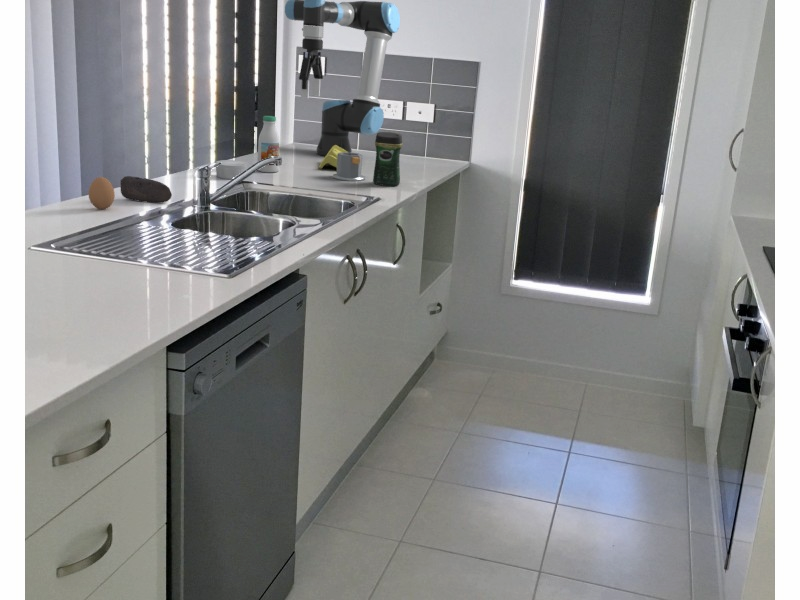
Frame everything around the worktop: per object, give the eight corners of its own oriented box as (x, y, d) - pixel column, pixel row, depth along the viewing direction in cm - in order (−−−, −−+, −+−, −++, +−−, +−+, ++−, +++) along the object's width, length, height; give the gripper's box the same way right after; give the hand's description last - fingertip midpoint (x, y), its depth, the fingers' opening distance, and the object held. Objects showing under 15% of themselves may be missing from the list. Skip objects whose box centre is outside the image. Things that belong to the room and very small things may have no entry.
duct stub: (337, 174, 320) (339, 152, 317) (368, 177, 318) (370, 156, 315) (328, 178, 309) (329, 156, 306) (360, 182, 306) (361, 160, 304)
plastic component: (349, 166, 326) (326, 153, 325) (340, 182, 329) (317, 169, 327) (353, 155, 345) (332, 142, 343) (345, 170, 347) (323, 158, 345)
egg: (117, 211, 234) (116, 179, 232) (92, 212, 231) (91, 179, 228) (111, 206, 240) (110, 174, 237) (86, 207, 236) (85, 175, 234)
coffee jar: (401, 184, 310) (405, 132, 304) (396, 187, 302) (400, 134, 297) (375, 181, 311) (378, 129, 306) (370, 184, 304) (373, 132, 298)
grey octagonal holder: (354, 173, 319) (355, 152, 316) (366, 178, 310) (368, 156, 307) (333, 174, 315) (334, 152, 312) (345, 179, 306) (346, 156, 303)
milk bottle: (253, 171, 313) (254, 115, 307) (264, 168, 320) (265, 114, 314) (271, 173, 310) (273, 118, 304) (282, 171, 317) (284, 116, 311)
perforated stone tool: (175, 202, 251) (175, 179, 249) (167, 206, 246) (167, 182, 244) (127, 197, 253) (127, 174, 251) (119, 200, 248) (118, 177, 246)
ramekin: (227, 181, 290) (228, 166, 288) (208, 176, 297) (208, 161, 295) (254, 179, 298) (254, 164, 296) (234, 173, 305) (234, 159, 303)
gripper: (313, 37, 326) (311, 94, 332) (291, 37, 303) (289, 98, 309) (332, 39, 325) (329, 96, 331) (312, 38, 301) (309, 100, 308)
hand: (310, 97), depth 320 cm, fingers open, 13 cm apart
